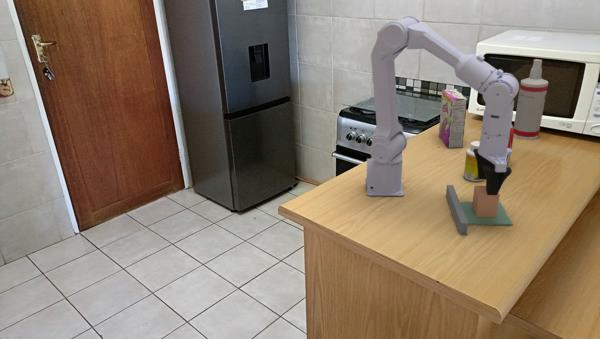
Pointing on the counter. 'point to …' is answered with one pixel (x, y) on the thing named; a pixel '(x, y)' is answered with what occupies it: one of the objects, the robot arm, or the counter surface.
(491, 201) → the terracotta block
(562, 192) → the counter surface
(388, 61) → the robot arm
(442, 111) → the candy bar box
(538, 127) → the nozzle squeeze bottle
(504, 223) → the rubber mat
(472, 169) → the supplement bottle
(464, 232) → the low wall
